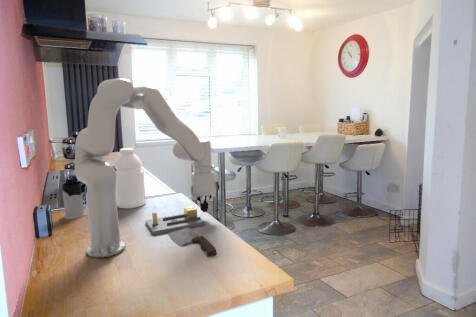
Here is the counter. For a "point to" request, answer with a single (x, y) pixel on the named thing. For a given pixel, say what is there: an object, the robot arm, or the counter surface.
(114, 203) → the robot arm
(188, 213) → the cardboard box
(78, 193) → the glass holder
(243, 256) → the counter surface
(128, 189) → the bottle
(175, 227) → the bolt plate
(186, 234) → the cleaver
